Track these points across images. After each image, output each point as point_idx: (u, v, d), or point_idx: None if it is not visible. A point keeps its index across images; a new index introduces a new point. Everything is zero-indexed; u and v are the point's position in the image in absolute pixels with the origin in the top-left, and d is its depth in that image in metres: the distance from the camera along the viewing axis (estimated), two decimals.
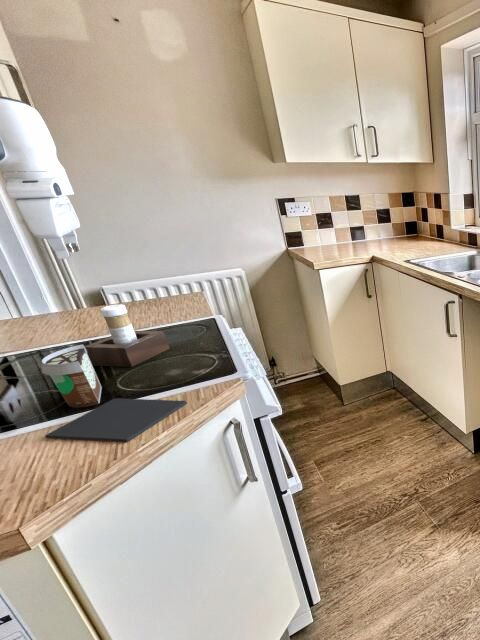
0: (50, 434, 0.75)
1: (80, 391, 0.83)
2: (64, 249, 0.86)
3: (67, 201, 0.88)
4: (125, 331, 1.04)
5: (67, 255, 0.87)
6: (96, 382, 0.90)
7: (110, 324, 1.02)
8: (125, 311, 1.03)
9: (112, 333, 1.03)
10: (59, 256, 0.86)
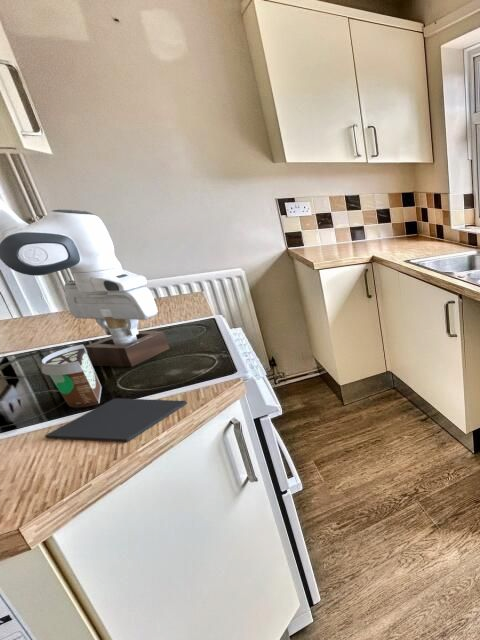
0: (50, 434, 0.75)
1: (80, 391, 0.83)
2: (136, 326, 1.04)
3: None
4: (125, 331, 1.04)
5: (137, 331, 1.05)
6: (96, 382, 0.90)
7: (110, 324, 1.02)
8: None
9: (112, 333, 1.03)
10: (133, 333, 1.04)
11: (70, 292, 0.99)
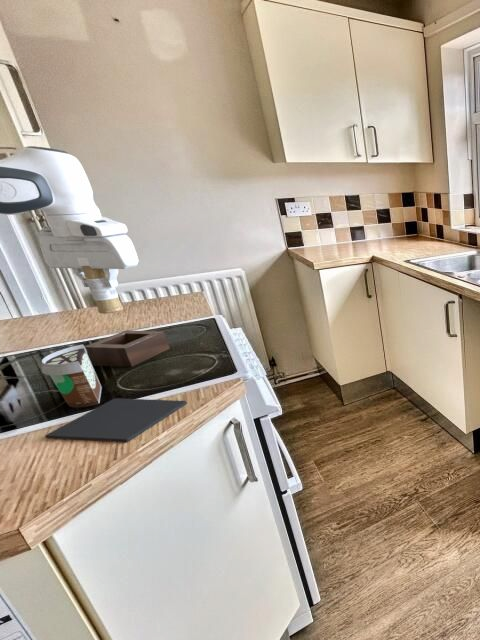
0: (50, 434, 0.75)
1: (80, 391, 0.83)
2: (115, 278, 0.99)
3: None
4: (104, 283, 0.98)
5: (117, 283, 1.00)
6: (96, 382, 0.90)
7: (87, 274, 0.96)
8: None
9: (90, 284, 0.97)
10: (112, 285, 0.98)
11: (45, 238, 0.94)
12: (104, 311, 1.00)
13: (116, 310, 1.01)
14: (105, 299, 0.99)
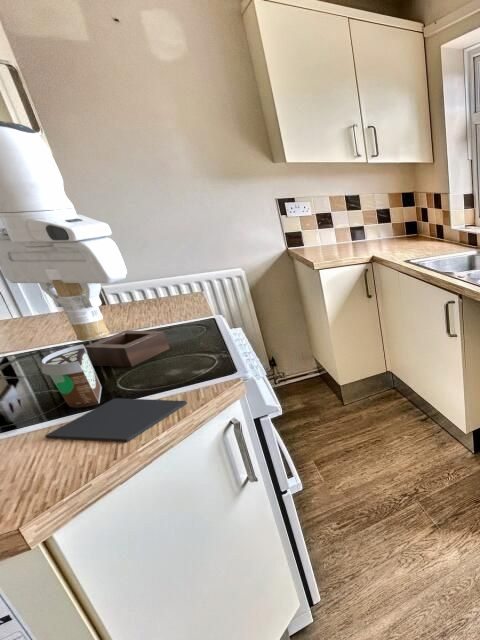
0: (50, 434, 0.75)
1: (80, 391, 0.83)
2: (98, 295, 0.76)
3: None
4: None
5: (100, 302, 0.76)
6: (96, 382, 0.90)
7: (60, 290, 0.73)
8: None
9: (63, 303, 0.74)
10: (93, 304, 0.75)
11: (2, 244, 0.71)
12: (84, 338, 0.76)
13: (100, 336, 0.78)
14: (85, 323, 0.76)
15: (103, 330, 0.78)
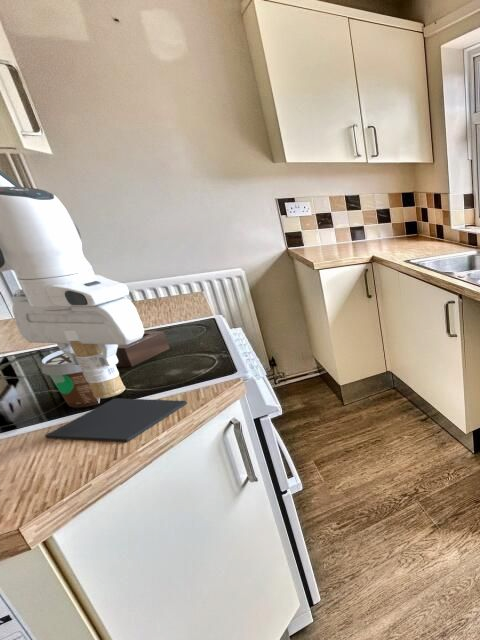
0: (50, 434, 0.75)
1: (80, 391, 0.83)
2: (114, 353, 0.75)
3: None
4: None
5: (116, 360, 0.76)
6: None
7: (77, 351, 0.73)
8: None
9: (81, 363, 0.73)
10: (110, 363, 0.75)
11: (20, 306, 0.70)
12: (101, 396, 0.76)
13: (116, 393, 0.77)
14: (102, 381, 0.75)
15: (119, 386, 0.78)
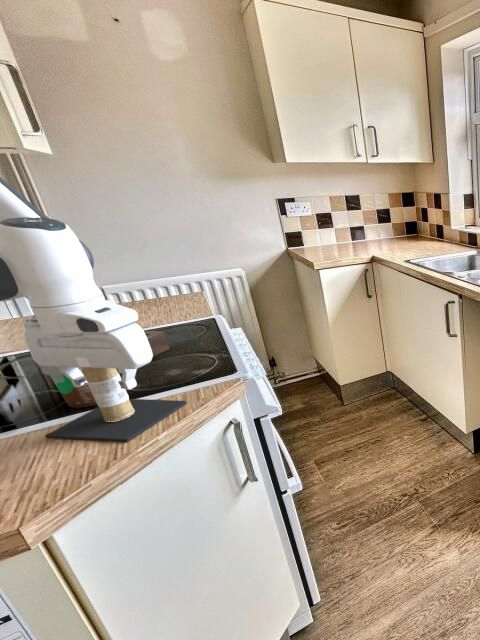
0: (50, 434, 0.75)
1: (80, 391, 0.83)
2: (133, 377, 0.77)
3: None
4: (110, 385, 0.76)
5: (135, 383, 0.77)
6: None
7: (89, 377, 0.74)
8: None
9: (92, 388, 0.75)
10: (129, 386, 0.76)
11: (32, 332, 0.72)
12: (111, 419, 0.78)
13: (126, 416, 0.79)
14: (113, 405, 0.77)
15: (129, 410, 0.80)
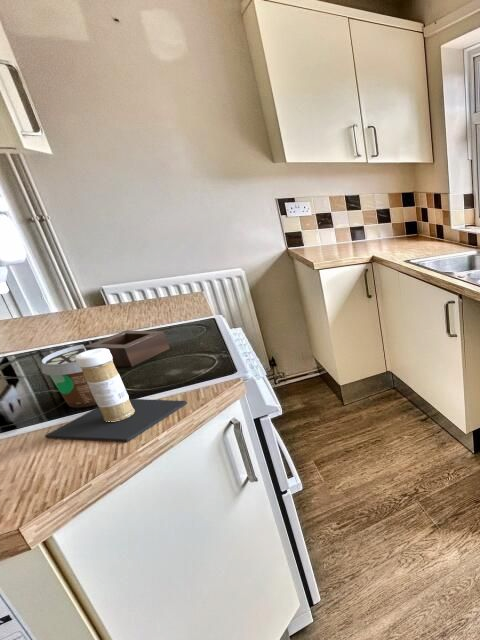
0: (50, 434, 0.75)
1: (80, 391, 0.83)
2: (4, 281, 0.66)
3: None
4: (110, 385, 0.76)
5: (7, 288, 0.66)
6: None
7: (89, 377, 0.74)
8: (110, 358, 0.76)
9: (92, 388, 0.75)
10: None
11: None
12: (111, 419, 0.78)
13: (126, 416, 0.79)
14: (113, 405, 0.77)
15: (129, 410, 0.80)
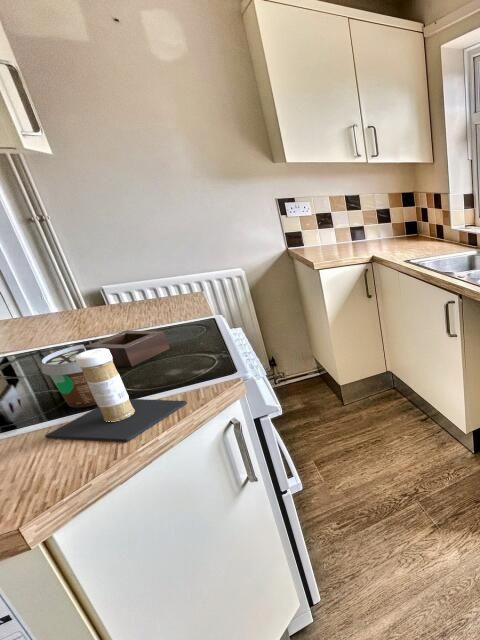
0: (50, 434, 0.75)
1: (80, 391, 0.83)
2: None
3: None
4: (110, 385, 0.76)
5: None
6: None
7: (89, 377, 0.74)
8: (110, 358, 0.76)
9: (92, 388, 0.75)
10: None
11: None
12: (111, 419, 0.78)
13: (126, 416, 0.79)
14: (113, 405, 0.77)
15: (129, 410, 0.80)
